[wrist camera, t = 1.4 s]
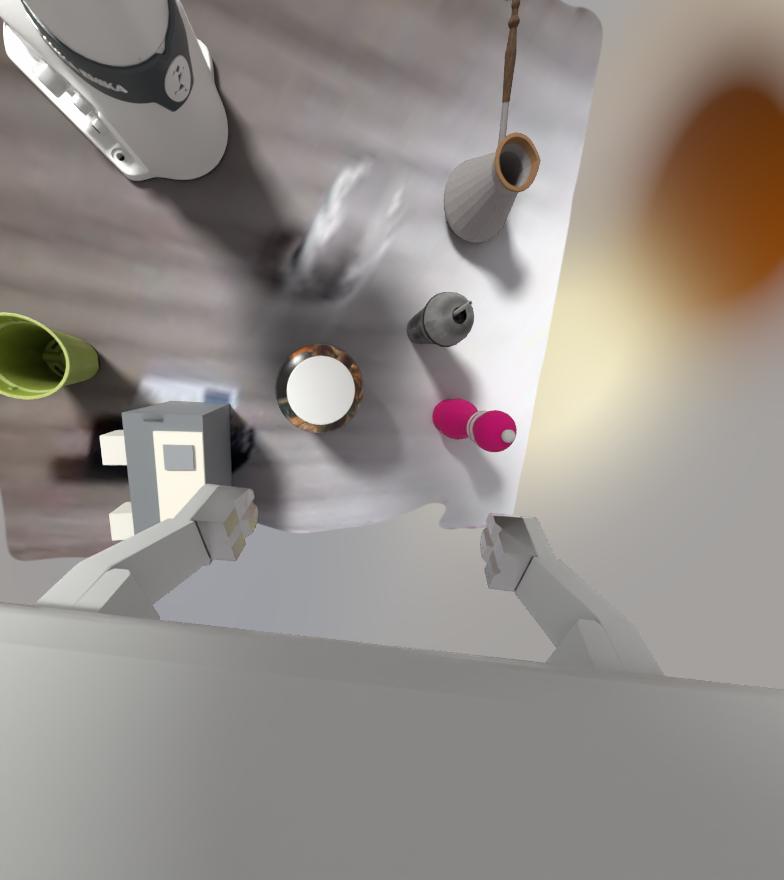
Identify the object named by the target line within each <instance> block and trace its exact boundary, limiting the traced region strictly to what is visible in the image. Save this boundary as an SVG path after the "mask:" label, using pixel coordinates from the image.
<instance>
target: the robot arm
mask: <svg viewBox="0 0 784 880" xmlns="http://www.w3.org/2000/svg"><path fill="white" fill-rule="evenodd" d="M0 17H1V19H2V20H3V21H4V25H3V37H4V44H5V49H6V53H7V55H8V56H9V58H10V59H11V60H12V61H13V63H14V64H15V65H16V66H17V67H18V69H19V70H20V71H21V72H22V73H23V74H24V75H25V76H26V77H27V78H28V79H29V80H30V81H31V82H32V83H33V84H34V85H35V86H36V87H37V88H38V89H39V90H40V91H41V92H42V93H43V94H44V95H45V96H46V97H47V98H48V99H49V100H50V101H51V102H52V103H53V104H54V105H55V106H56V107H57V108H58V109H59V110H60V111H61V112H62V113H63V114H64V115H65V116H66V117H67V118H68V119H69V120H70V121H71V122H72V123H73V124H74V125H75V126H76V127H77V128H78V129H79V130H80V131H81V132H82V133H83V134H84V135H85V136H86V137H87V138H88V139H89V140H90V141H91V142H92V143H93V144H94V145H95V146H96V147H97V148H98V149H99V150H100V151H101V152H102V153H103V154H104V155H105V156H106V157H107V158H108V159H109V160H110V161H111V162H112V163H113V164H114V165H115V166H116V167H117V168H118V169H119V170H120V171H121V172H122V173H123V174H124V175H125V176H126V177H127V178H129V179H130V180H133V181H141V180H146V179H150V178H153V177H164V178H170V179H176V180H188V179H194V178H198V177H201V176H203V175H205V174H207V173H208V172H210V171H211V170H212V169H213V168H214V167H215V166H216V165H217V164H218V163H219V161H220V160H221V158H222V156H223V154H224V152H225V149H226V145H227V140H228V123H227V117H226V113H225V109H224V106H223V103H222V101H221V98H220V96H219V94H218V91H217V89H216V86H215V82H214V69H213V62H212V58H211V56H210V53H209V51H208V49H207V47H206V46H205V45H204V44H203V43H202V42H201V41H200V40H198V39H197V38H196V36H195V34H194V31H193V29H192V27H191V24H190V22H189V20H188V17H187V15H186V13H185V11H184V8H183V6H182V4H181V2H180V0H0ZM121 157H125V159H124V161H120V158H121ZM254 498H255V496H254V493H253V490H252V489H248V488H240V487H233V486H225V485H215V484H206V485H203V486H202V487H201V488H200V489H199V490H198V492H197V493H196V494H195V495H194V496H193V497H192V498H191V499H190V500H189V502H188V503H187V504H186V505H185V506H184V507H183V508H182V509H181V510H180V512H179V513H178V514H177V515H176V516H175V517H174V518H173V519H171V518H168V519H166V520H164V521H162V522H160V523H158V524H156V525H154V526H152V527H150V528H148V529H146V530H144V531H142V532H140V533H138V534H136V535H134V536H132V537H130V538H128V539H126V540H124V541H122V542H120V543H118V544H116V545H114V546H111V547H109V548H107V549H105V550H103V551H101V552H99V553H97V554H95V555H93V556H91V557H89V558H87V559H85V560H83V561H81V562H79V563H78V564H77V565H76V566H75V567H74V568H72V569H71V570H70V571H69V572H68V573H67V574H66V575H65V576H64V577H63V578H62V579H61V580H60V581H58V582H57V583H56V584H55V585H54V586H53V587H52V588H51V589H50V590H49V591H48V592H47V593H46V594H45V595H44V596H42V597H41V598H40V599H39V600H38V601H37V602H36V603H35V604H34V605H33V606H31V605H22V604H13V603H4V602H0V880H784V689H775V688H765V687H757V686H748V685H739V684H730V683H720V682H712V681H703V680H694V679H685V678H676V677H667V676H664V674H663V673H662V671H661V669H660V667H659V666H658V664H657V662H656V660H655V659H654V657H653V655H652V653H651V652H650V650H649V648H648V646H647V645H646V643H645V641H644V639H643V638H642V636H641V634H640V632H639V631H638V629H637V627H636V625H635V624H634V623H633V622H632V621H631V620H630V619H628V618H627V617H626V616H625V615H624V614H623V613H621V612H620V611H619V610H618V609H617V608H616V607H615V606H613V605H612V604H611V603H610V602H609V601H608V600H606V599H605V598H604V597H603V596H602V595H601V594H600V593H598V592H597V591H596V590H595V589H594V588H593V587H591V586H590V585H589V584H588V583H587V582H586V581H585V580H583V579H582V578H581V577H580V576H579V575H578V574H577V573H575V572H574V571H573V570H572V569H571V568H570V567H569V566H567V565H566V564H565V563H564V562H563V561H562V560H559V559H556V558H555V556H554V554H553V552H552V550H551V547H550V545H549V543H548V540H547V538H546V536H545V534H544V532H543V529H542V527H541V525H540V523H539V521H538V519H537V518H535V517H525V516H514V515H504V514H493V513H490V514H489V516H488V518H487V521H486V522H487V526H488V527H487V528H485V529H484V530H483V532H482V536H481V544H480V546H481V554H482V558H483V559H484V560H485V561H486V562H487V565H486V568H485V574H486V578H487V583H488V587H489V588H490V589H498V590H505V591H512V592H515V594H516V596H517V597H518V598H519V599H520V601H521V602H522V603H523V605H524V606H525V607H526V609H527V610H528V611H529V612H530V614H531V615H532V616H533V618H534V619H535V620H536V621H537V623H538V624H539V625H540V627H541V628H542V629H543V631H544V632H545V633H546V635H547V636H548V637H549V638H550V640H551V641H552V642H553V644H554V645H555V646H556V650H555V651H554V652H553V654H552V655H551V656H550V657H549V659H548V660H547V661H546V663H541V662H533V661H524V660H515V659H506V658H496V657H487V656H479V655H469V654H460V653H451V652H443V651H434V650H424V649H416V648H407V647H398V646H389V645H381V644H372V643H362V642H354V641H345V640H336V639H327V638H318V637H309V636H300V635H291V634H282V633H273V632H264V631H254V630H246V629H237V628H228V627H219V626H210V625H201V624H192V623H183V622H174V621H165V620H160V616H159V614H158V613H157V611H156V610H155V608H154V607H153V604H154V603H156V602H157V601H158V600H160V599H161V598H162V597H163V596H165V595H166V594H167V593H169V592H170V591H171V590H173V589H174V588H175V587H176V586H178V585H179V584H180V583H182V582H183V581H184V580H186V579H187V578H188V577H189V576H191V575H192V574H193V573H195V572H196V571H197V570H199V569H200V568H201V567H202V566H204V565H205V564H206V563H208V562H209V561H210V559H216V560H228V561H236V560H237V558H238V557H239V555H240V553H241V551H242V550H243V548H244V546H245V545H246V543H245V540H244V538H246V537H247V536H249V535H250V534H251V533H252V532H253V530H254V529H255V527H256V524H257V520H258V509H257V506H256V505H255V504H254V503H253V502H252V501H253V499H254Z"/></svg>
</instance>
